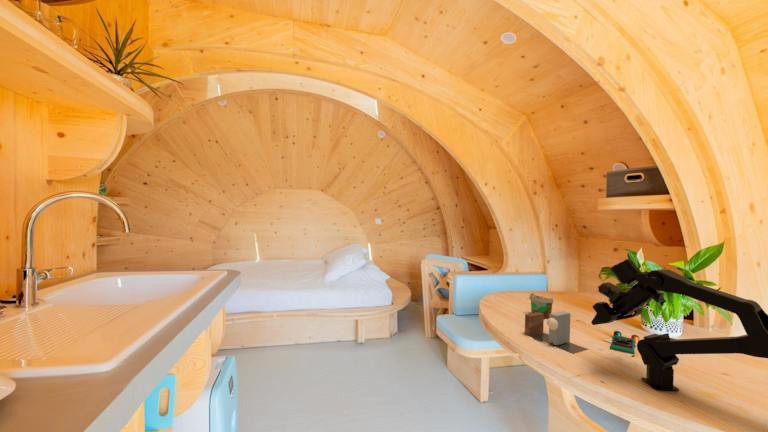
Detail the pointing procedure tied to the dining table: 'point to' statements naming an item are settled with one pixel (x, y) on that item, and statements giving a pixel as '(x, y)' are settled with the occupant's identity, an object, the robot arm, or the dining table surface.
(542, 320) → the brown wooden square slab
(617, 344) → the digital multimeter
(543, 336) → the base
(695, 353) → the robot arm
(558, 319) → the gauge carriage
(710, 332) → the dining table surface
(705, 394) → the dining table surface
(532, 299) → the food container
